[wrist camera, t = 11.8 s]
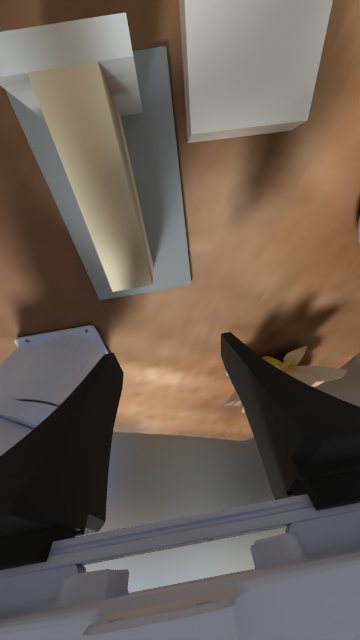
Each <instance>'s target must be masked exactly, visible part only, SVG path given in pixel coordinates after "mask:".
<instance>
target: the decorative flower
mask: <svg viewBox="0 0 360 640" xmlns="http://www.w3.org/2000/svg"><path fill="white" fill-rule="evenodd" d="M306 348H307V346H305V347H302V348H299V349H296V350H294V351H291V352H289V353H287V354H286V355H285V357H284V359H283V361H284V363H282V362H280V361H279V360H277V359H275V358H272V357H268V356H265V357H262V358H263V359H264V360H266V361H267V362H269V363H270V364H272V365H273V366H275V367H277V368H278V369H280V370H282V371H283V372H285V373H287V374H288V375H290V376H292V377H294V378H296V379H298V380H299V381H301V382H303V383H305V384H307V385H309V386H311V387H312V386H317V385H319V384H321V383H323V382H324V381H331V380H336V379H339V378H342V377H343V376H344V375H345V373H346V372H347V370H345V369H336V368H329V367H321V366H297V365H298V363H299V362H300V360H301V359H302V357H303V355H304V353H305V351H306ZM225 374H226V375H227V376H229V375H228V373H227V371H226V372H225ZM235 401H236V402H235ZM234 402H235V403H234ZM233 403H234V406H239V405H241V404H242V403H241V400H240V398H239V396H238V394H237V392H236V391H235V392H234V393H233V394H232V396H231V397H230V398H229V400H228V401H227V403H226V404H225V406H229V405H231V404H233ZM242 413H245V410H244V407H243V409H242Z"/></svg>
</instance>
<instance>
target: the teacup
mask: <svg viewBox="0 0 360 640" xmlns="http://www.w3.org/2000/svg"><path fill="white" fill-rule="evenodd" d="M357 235H358V240H359V244H360V216H359V220H358V229H357Z"/></svg>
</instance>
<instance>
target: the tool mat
mask: <svg viewBox="0 0 360 640" xmlns="http://www.w3.org/2000/svg"><path fill="white" fill-rule="evenodd" d="M133 57H134V63H135V69H136V75H137V81H138V87H139V93H140V99H141V105H142V111H143V113H139V114H132V115H126V116H121V121H122V125H123V130H124V134H125V139H126V143H127V148H128V152H129V157H130V161H131V166H132V170H133V174H134V179H135V183H136V188H137V192H138V197H139V201H140V206H141V210H142V215H143V219H144V224H145V228H146V233H147V237H148V242H149V246H150V251H151V255H152V260H153V264H154V272H153V283H152V285H149V286H143V287H137V288H131V289H126V290H120V291H114V292H112V289H111V287H110V284H109V281H108V279H107V276H106V274H105V271H104V269H103V266H102V264H101V261H100V258H99V256H98V253H97V251H96V248H95V246H94V243H93V241H92V238H91V235H90V233H89V230H88V228H87V225H86V223H85V220H84V218H83V215H82V212H81V210H80V207H79V205H78V202H77V200H76V197H75V195H74V192H73V189H72V187H71V184H70V182H69V179H68V177H67V174H66V172H65V169H64V166H63V164H62V161H61V159H60V156H59V154H58V151H57V149H56V146H55V143H54V141H53V138H52V136H51V133H50V131H49V128H48V126H47V123H46V121H45V120H44V119H42V118H41V117H40V116H38V115H37V114H36V113H35V112H33V111H32V110H31V109H30V108H28V107H27V106H26V105H24V104H23V103H22V102H21V101H19V100H18V99H17V98H15V97H14V96H13V95H12V94H10V93H9V92H8V91H7V90H5V92H6V94H7V96H8V98H9V101H10V103H11V105H12V107H13V109H14V112H15V114H16V116H17V118H18V121H19V123H20V125H21V127H22V129H23V132H24V134H25V136H26V138H27V141H28V143H29V145H30V147H31V149H32V152H33V154H34V156H35V158H36V160H37V163H38V165H39V167H40V169H41V172H42V174H43V176H44V178H45V180H46V183H47V185H48V187H49V189H50V192H51V194H52V196H53V198H54V200H55V203H56V205H57V207H58V209H59V212H60V214H61V216H62V218H63V220H64V223H65V225H66V227H67V229H68V232H69V234H70V236H71V238H72V240H73V243H74V245H75V247H76V249H77V251H78V254H79V256H80V258H81V260H82V263H83V265H84V267H85V269H86V271H87V274H88V276H89V278H90V280H91V283H92V285H93V287H94V289H95V291H96V294H97V296H98V298H99V300H106V299H111V298H117V297H123V296H129V295H135V294H140V293H146V292H152V291H158V290H164V289H169V288H175V287H181V286H187V285H191V276H190V266H189V257H188V248H187V238H186V229H185V219H184V210H183V201H182V191H181V182H180V173H179V163H178V154H177V144H176V135H175V126H174V116H173V107H172V98H171V88H170V79H169V69H168V60H167V51H166V46H162V47H156V48H149V49H143V50H137V51H133Z"/></svg>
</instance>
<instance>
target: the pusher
mask: <svg viewBox="0 0 360 640" xmlns="http://www.w3.org/2000/svg"><path fill="white" fill-rule="evenodd" d="M0 86H1V87H3V88H4V89H5V90H7V91H8V92H9V93H10V94H12V95H13V96H14V97H15V98H17V99H18V100H19V101H21V102H22V103H23V104H24V105H26V106H27V107H28V108H30V109H31V110H32V111H33V112H35V113H36V114H37V115H38V116H40V117H41V118H42V119H44V120H45V121H46V123H47V126H48V128H49V131H50V133H51V136H52V138H53V141H54V143H55V146H56V149H57V151H58V154H59V156H60V159H61V161H62V164H63V166H64V169H65V172H66V174H67V177H68V179H69V182H70V184H71V187H72V189H73V192H74V195H75V197H76V200H77V202H78V205H79V207H80V210H81V212H82V215H83V218H84V220H85V223H86V225H87V228H88V230H89V233H90V235H91V238H92V241H93V243H94V246H95V248H96V251H97V253H98V256H99V258H100V261H101V264H102V266H103V269H104V271H105V274H106V276H107V279H108V281H109V284H110V287H111V289H112V292H114V291H120V290H126V289H131V288H137V287H143V286H149V285H152V283H153V272H154V264H153V260H152V255H151V251H150V246H149V242H148V237H147V233H146V228H145V224H144V219H143V215H142V210H141V206H140V201H139V197H138V192H137V188H136V183H135V179H134V174H133V170H132V166H131V161H130V157H129V152H128V148H127V143H126V139H125V134H124V130H123V125H122V121H121V116H126V115H132V114H139V113H143V111H142V105H141V99H140V93H139V87H138V81H137V75H136V69H135V63H134V57H133V51H132V45H131V40H130V34H129V28H128V22H127V16H126V12H125V13H119V14H112V15H106V16H99V17H93V18H86V19H80V20H73V21H67V22H61V23H54V24H48V25H41V26H35V27H28V28H22V29H15V30H9V31H3V32H0Z"/></svg>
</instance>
